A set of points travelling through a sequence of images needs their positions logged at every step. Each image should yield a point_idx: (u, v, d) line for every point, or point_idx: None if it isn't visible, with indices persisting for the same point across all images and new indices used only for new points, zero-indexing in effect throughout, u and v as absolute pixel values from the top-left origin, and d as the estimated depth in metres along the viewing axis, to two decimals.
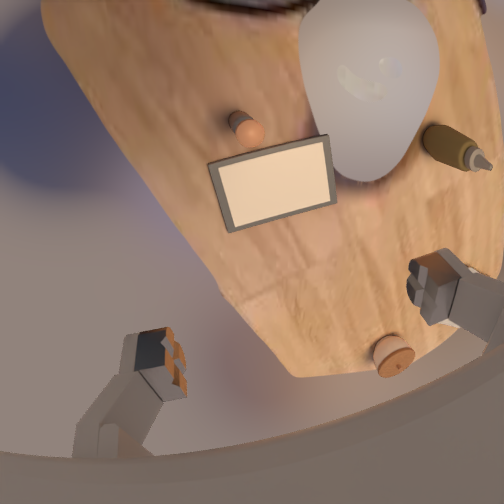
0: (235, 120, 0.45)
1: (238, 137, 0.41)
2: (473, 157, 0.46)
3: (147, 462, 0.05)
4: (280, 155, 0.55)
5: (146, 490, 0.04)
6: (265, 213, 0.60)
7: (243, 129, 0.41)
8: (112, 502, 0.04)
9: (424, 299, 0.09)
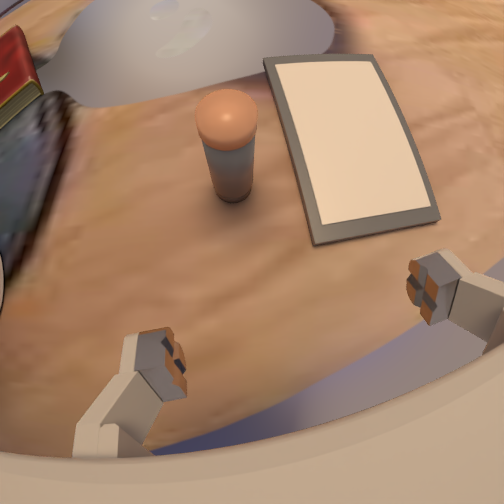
0: (213, 167, 0.23)
1: (231, 135, 0.18)
2: None
3: (147, 462, 0.05)
4: (299, 119, 0.30)
5: (146, 490, 0.04)
6: (403, 151, 0.30)
7: (213, 125, 0.18)
8: (112, 502, 0.04)
9: (424, 299, 0.09)
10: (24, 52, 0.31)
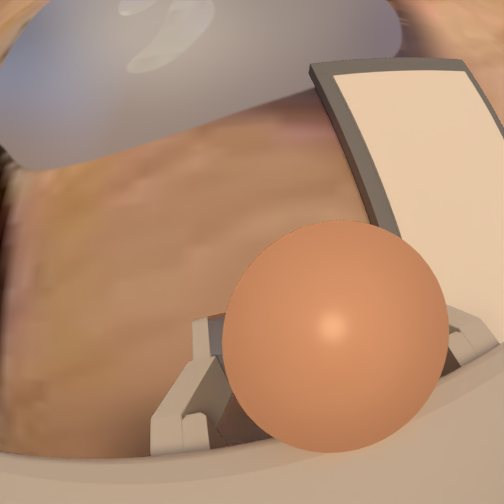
0: None
1: (369, 436, 0.04)
2: None
3: (147, 462, 0.05)
4: (393, 183, 0.16)
5: (146, 490, 0.04)
6: None
7: (303, 405, 0.05)
8: (112, 502, 0.04)
9: None
10: None
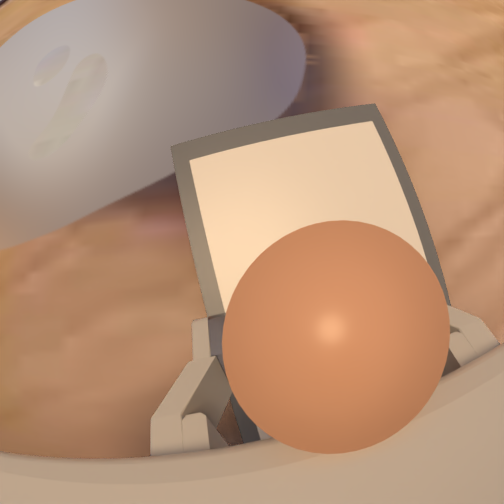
0: None
1: (369, 437, 0.04)
2: None
3: (147, 462, 0.05)
4: (232, 288, 0.17)
5: (146, 490, 0.04)
6: None
7: (304, 406, 0.04)
8: (112, 502, 0.04)
9: None
10: None
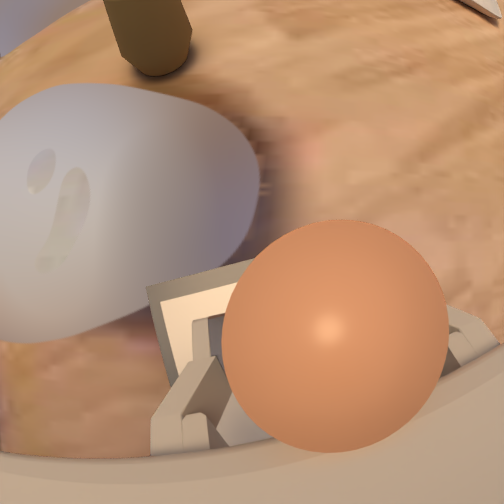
0: None
1: (368, 436, 0.04)
2: None
3: (147, 462, 0.05)
4: None
5: (146, 490, 0.04)
6: None
7: (303, 405, 0.05)
8: (112, 502, 0.04)
9: None
10: None
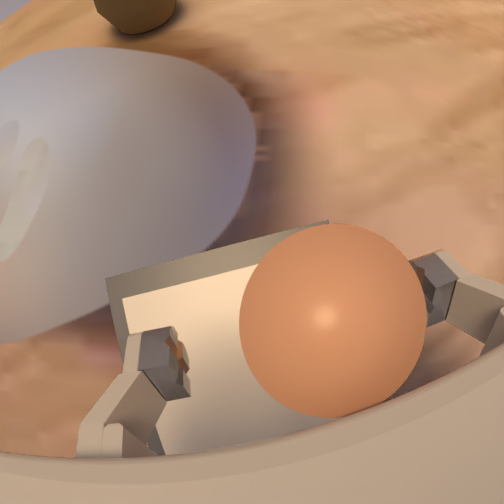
0: None
1: (361, 403, 0.06)
2: None
3: (147, 462, 0.05)
4: (166, 425, 0.17)
5: (146, 490, 0.04)
6: None
7: (306, 375, 0.06)
8: (112, 502, 0.04)
9: None
10: None
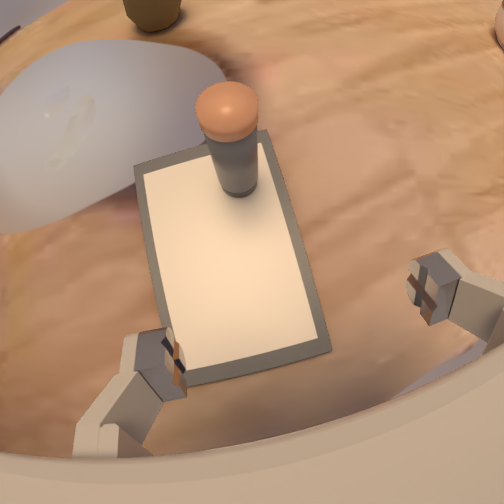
0: (217, 162, 0.23)
1: (233, 125, 0.18)
2: None
3: (147, 462, 0.05)
4: (162, 249, 0.29)
5: (146, 490, 0.04)
6: (287, 272, 0.28)
7: (214, 117, 0.18)
8: (112, 502, 0.04)
9: (424, 299, 0.09)
10: None
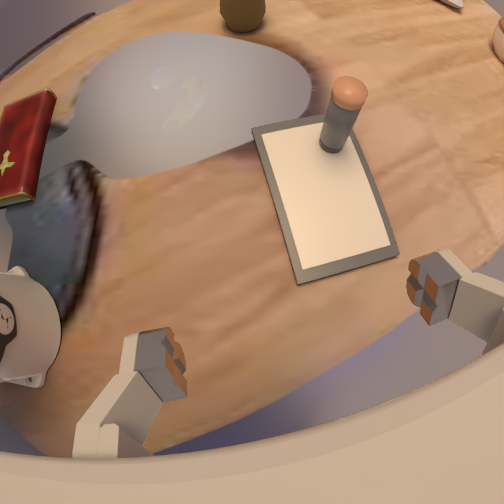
0: (334, 124, 0.35)
1: (357, 101, 0.30)
2: None
3: (147, 462, 0.05)
4: (283, 185, 0.41)
5: (146, 490, 0.04)
6: (368, 201, 0.40)
7: (346, 95, 0.30)
8: (112, 502, 0.04)
9: (424, 299, 0.09)
10: (33, 144, 0.42)
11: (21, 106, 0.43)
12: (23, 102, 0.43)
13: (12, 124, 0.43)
